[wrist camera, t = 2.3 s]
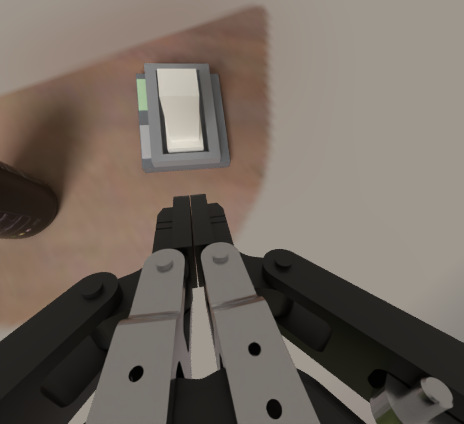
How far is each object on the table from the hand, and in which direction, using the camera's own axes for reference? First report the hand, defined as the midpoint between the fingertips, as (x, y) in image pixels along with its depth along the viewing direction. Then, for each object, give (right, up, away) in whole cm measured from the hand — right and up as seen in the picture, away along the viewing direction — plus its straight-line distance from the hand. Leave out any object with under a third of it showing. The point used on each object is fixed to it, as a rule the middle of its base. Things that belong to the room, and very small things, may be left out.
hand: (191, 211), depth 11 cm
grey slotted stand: (-4, +11, +17) cm, 21 cm away
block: (-3, +8, +15) cm, 17 cm away
